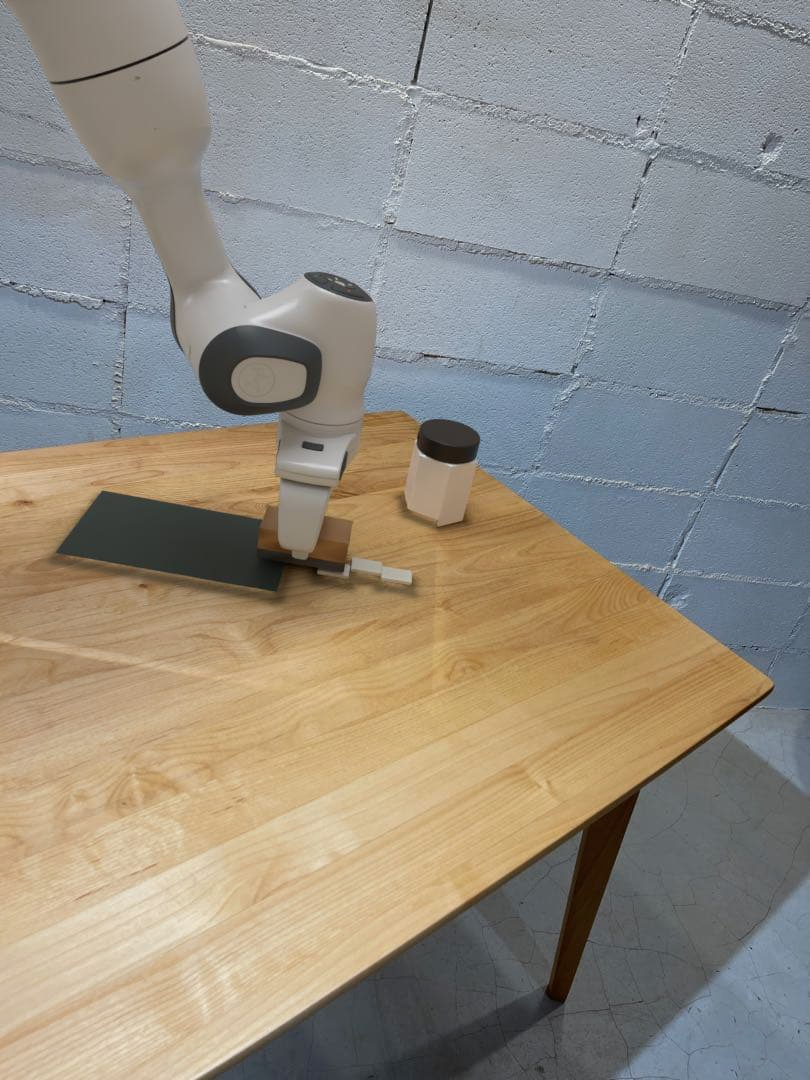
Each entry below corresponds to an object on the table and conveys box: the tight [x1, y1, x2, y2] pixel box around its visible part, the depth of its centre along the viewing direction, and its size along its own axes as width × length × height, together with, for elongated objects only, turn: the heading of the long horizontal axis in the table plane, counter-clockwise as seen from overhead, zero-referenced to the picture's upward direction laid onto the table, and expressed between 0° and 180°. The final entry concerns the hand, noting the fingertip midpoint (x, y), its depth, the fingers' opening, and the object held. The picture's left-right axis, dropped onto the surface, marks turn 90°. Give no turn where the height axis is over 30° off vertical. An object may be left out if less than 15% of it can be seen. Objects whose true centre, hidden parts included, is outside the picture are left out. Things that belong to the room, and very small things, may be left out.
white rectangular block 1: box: [316, 563, 351, 580], centre depth 94 cm, size 4×2×2 cm, turn 88°
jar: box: [403, 418, 481, 528], centre depth 109 cm, size 9×8×12 cm
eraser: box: [256, 505, 354, 572], centre depth 93 cm, size 10×5×4 cm, turn 87°
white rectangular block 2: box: [350, 556, 383, 577], centre depth 96 cm, size 4×2×2 cm, turn 89°
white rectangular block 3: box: [380, 565, 413, 586], centre depth 95 cm, size 4×2×2 cm, turn 89°
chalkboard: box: [54, 490, 287, 593], centre depth 94 cm, size 24×14×1 cm, turn 87°
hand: (304, 540), depth 93 cm, fingers closed on eraser, 5 cm apart
